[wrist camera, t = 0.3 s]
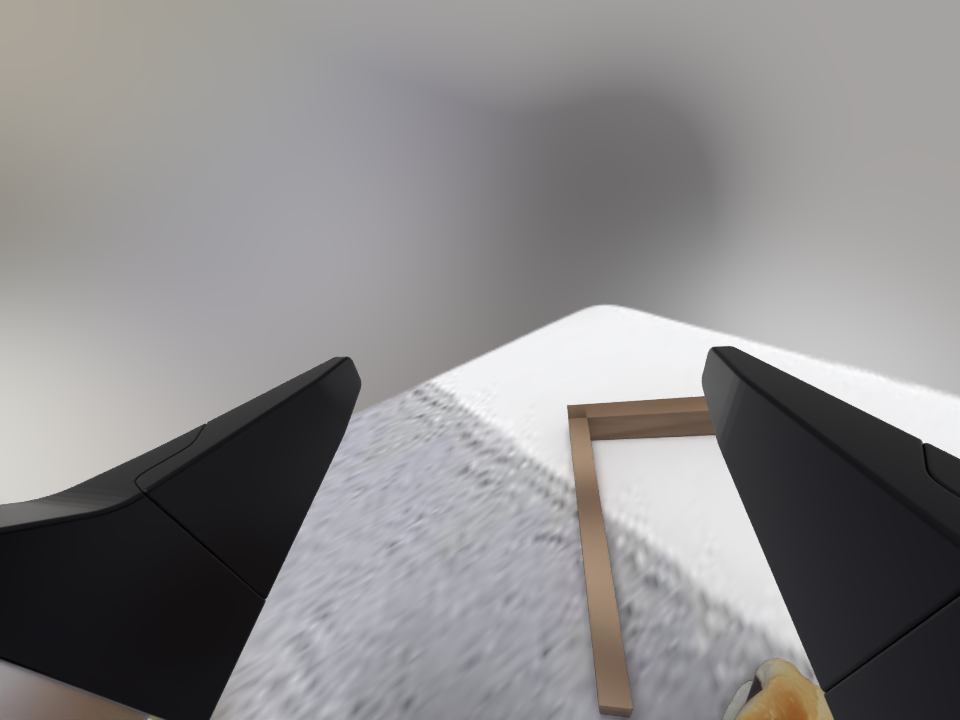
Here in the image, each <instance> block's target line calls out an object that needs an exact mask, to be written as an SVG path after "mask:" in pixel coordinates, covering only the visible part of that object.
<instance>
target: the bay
mask: <svg viewBox="0 0 960 720" xmlns="http://www.w3.org/2000/svg"><path fill="white" fill-rule="evenodd" d="M567 409H568V419H569V430H570V439H571V449H572V458H573V467H574V477H575V486H576V495H577V505H578V514H579V524H580V533H581V542H582V552H583V561H584V571H585V580H586V589H587V599H588V608H589V618H590V627H591V636H592V646H593V655H594V665H595V674H596V683H597V693H598V702H599V711H600V714H607V715H615V716H624V717H630V716H631V713H632V711H633V706H632V699H631V693H630V687H629V680H628V674H627V668H626V661H625V655H624V649H623V642H622V636H621V630H620V623H619V617H618V611H617V604H616V598H615V592H614V585H613V579H612V573H611V566H610V560H609V554H608V547H607V541H606V535H605V528H604V522H603V516H602V510H601V503H600V497H599V491H598V484H597V478H596V472H595V465H594V459H593V453H592V446H591V440H608V439H630V438H652V437H674V436H696V435H715V431H714V428H713V424H712V420H711V417H710V413H709V409H708V406H707V402H706V398H705V396H701V397H686V398H671V399H656V400H642V401H627V402H612V403H597V404H582V405H567Z"/></svg>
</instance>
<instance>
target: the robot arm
mask: <svg viewBox="0 0 960 720" xmlns="http://www.w3.org/2000/svg"><path fill="white" fill-rule="evenodd" d="M702 387H703V391H704V395H705V398H706V402H707V406H708V409H709V413H710V417H711V420H712V424H713V428H714V431H715V435H716V438H717V441H718V445H719V447H720V450H721V452H722V455H723V457H724V460H725V462H726V464H727V467H728V469H729V471H730V474H731V476H732V479H733V481H734V483H735V486H736V488H737V490H738V493H739V495H740V498H741V500H742V502H743V505H744V507H745V509H746V512H747V514H748V517H749V519H750V521H751V524H752V526H753V528H754V531H755V533H756V535H757V538H758V540H759V543H760V545H761V547H762V550H763V552H764V554H765V557H766V559H767V562H768V564H769V566H770V569H771V571H772V573H773V576H774V578H775V581H776V583H777V585H778V588H779V590H780V592H781V595H782V597H783V599H784V602H785V604H786V607H787V609H788V611H789V614H790V616H791V618H792V621H793V623H794V626H795V628H796V630H797V633H798V635H799V637H800V640H801V642H802V645H803V647H804V649H805V652H806V654H807V656H808V659H809V661H810V664H811V666H812V668H813V671H814V673H815V675H816V678H817V680H818V682H819V685H820V687H821V689H822V691H823V692H825V693H824V698H825V700H826V702H827V705H828V707H829V709H830V712H831V714H832V717H833V719H834V720H960V459H959V458H957V457H955V456H953V455H951V454H949V453H947V452H945V451H943V450H941V449H939V448H937V447H935V446H933V445H931V444H929V443H924V444H923V442H922V440H920V439H919V438H916V437H914V436H912V435H910V434H908V433H906V432H904V431H902V430H900V429H898V428H896V427H894V426H892V425H890V424H888V423H886V422H884V421H882V420H880V419H878V418H876V417H874V416H872V415H870V414H868V413H866V412H864V411H862V410H860V409H858V408H856V407H854V406H852V405H850V404H848V403H846V402H844V401H842V400H840V399H838V398H836V397H834V396H832V395H830V394H828V393H826V392H824V391H822V390H820V389H818V388H816V387H814V386H812V385H810V384H808V383H806V382H804V381H802V380H800V379H798V378H796V377H794V376H792V375H790V374H788V373H786V372H783V371H781V370H779V369H777V368H775V367H773V366H771V365H769V364H767V363H765V362H763V361H761V360H759V359H757V358H755V357H753V356H751V355H749V354H747V353H745V352H743V351H741V350H739V349H737V348H735V347H732V346H721V347H712V348H711V349H710V350H709V352H708V355H707V359H706V363H705V367H704V371H703V375H702ZM360 389H361V379H360V377H359V374H358V372H357V370H356V367H355V365H354V363H353V361H352V360H351V358H349V357H334V358H332V359H330V360H328V361H326V362H325V363H323V364H320V365H319V366H317V367H315V368H313V369H311V370H309V371H307V372H305V373H303V374H301V375H299V376H297V377H295V378H293V379H291V380H289V381H287V382H285V383H283V384H281V385H280V386H278V387H275V388H274V389H272V390H270V391H268V392H266V393H264V394H262V395H260V396H258V397H256V398H254V399H252V400H250V401H248V402H246V403H244V404H242V405H240V406H238V407H236V408H235V409H233V410H231V411H229V412H227V413H225V414H223V415H221V416H219V417H217V418H215V419H213V420H211V421H209V422H208V423H207V424H203V425H201V426H199V427H197V428H195V429H193V430H191V431H190V432H188V433H185V434H183V435H182V436H179V437H177V438H176V439H173V440H171V441H170V442H167V443H165V444H163V445H161V446H160V447H157V448H155V449H153V450H151V451H149V452H147V453H144V454H143V455H141V456H139V457H136V458H134V459H132V460H130V461H128V462H125V463H123V464H121V465H119V466H117V467H115V468H112V469H110V470H108V471H106V472H104V473H102V474H99V475H97V476H95V477H93V478H91V479H89V480H87V481H84V482H82V483H80V484H78V485H76V486H74V487H71V488H69V489H67V490H64V491H62V492H59V493H56V494H53V495H50V496H46V497H43V498H39V499H35V500H30V501H26V502H19V503H11V504H2V505H0V720H148V718H149V719H153V720H210V718H211V716H212V714H213V712H214V710H215V707H216V705H217V703H218V701H219V699H220V697H221V695H222V693H223V690H224V688H225V686H226V684H227V682H228V680H229V678H230V676H231V674H232V671H233V669H234V667H235V665H236V663H237V661H238V659H239V657H240V655H241V652H242V650H243V648H244V646H245V644H246V642H247V640H248V638H249V636H250V633H251V631H252V629H253V627H254V625H255V623H256V621H257V619H258V616H259V614H260V612H261V610H262V608H263V606H264V604H265V602H266V600H265V599H266V598H267V597H268V595H269V593H270V591H271V588H272V586H273V584H274V582H275V580H276V578H277V576H278V574H279V572H280V569H281V567H282V565H283V563H284V561H285V559H286V557H287V555H288V553H289V550H290V548H291V546H292V544H293V542H294V540H295V538H296V536H297V534H298V531H299V529H300V527H301V525H302V523H303V521H304V519H305V517H306V515H307V512H308V510H309V508H310V506H311V504H312V502H313V500H314V498H315V496H316V493H317V491H318V489H319V487H320V485H321V483H322V481H323V479H324V477H325V474H326V472H327V470H328V468H329V466H330V464H331V462H332V460H333V457H334V455H335V453H336V451H337V449H338V447H339V445H340V443H341V441H342V438H343V436H344V434H345V431H346V429H347V426H348V423H349V420H350V418H351V415H352V412H353V409H354V406H355V403H356V400H357V398H358V395H359V392H360Z"/></svg>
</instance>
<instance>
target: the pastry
mask: <svg viewBox="0 0 960 720" xmlns="http://www.w3.org/2000/svg"><path fill="white" fill-rule="evenodd" d="M824 693H825V692H823V691H822V689H821V688H820V687H818V686H816V685H815V684H813V683H812V682H811V681H809V680H808V679H807V678H805V677H804V676H803V675H802V674H801V673H800V672H799V671H798V669H797V668H796V667H795V666H794V665H793V664H791V663H789V662H787V661H785V660H782V659H778V658H776V659H772V660H767V661H765V662H764V663H763V664H762V665H761V666H760V667H759V668H758V670H757V672H756V674H755V677H754V679H753V681H748V682H746V683H745V684H744V685H742V686H741V687H740V688H739V690H738V691H737V692H736V693H735V694H734V697H733V699H732V702H731V703H730V704H729V706H728V707H727V709H726V712H725V714H724V716H723V719H722V720H834V719H833V717H832V714H831V712H830V709H829V707H828V705H827V702H826V700H825V698H824Z"/></svg>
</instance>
